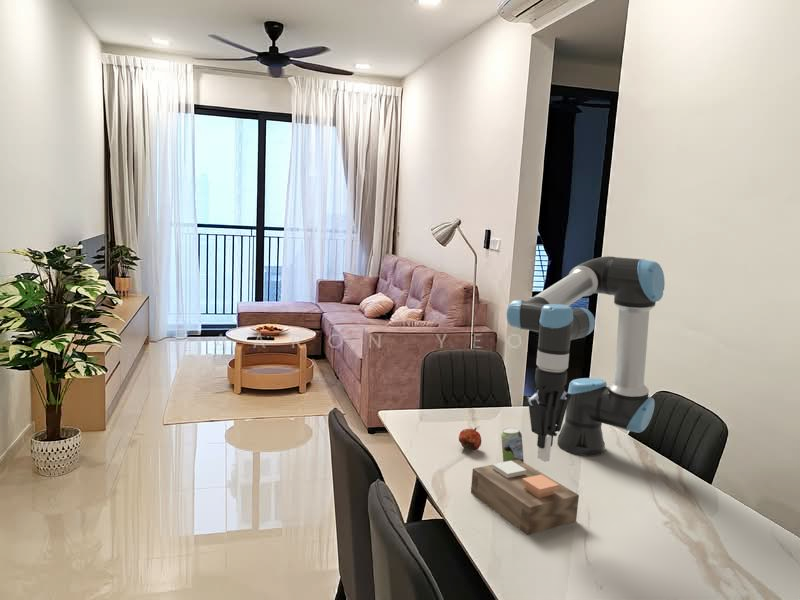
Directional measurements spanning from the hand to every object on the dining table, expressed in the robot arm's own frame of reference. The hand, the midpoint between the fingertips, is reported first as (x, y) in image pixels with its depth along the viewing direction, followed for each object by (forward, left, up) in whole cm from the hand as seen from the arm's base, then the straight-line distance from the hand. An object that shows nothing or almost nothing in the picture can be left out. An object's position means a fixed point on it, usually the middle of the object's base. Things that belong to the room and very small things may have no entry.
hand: (543, 459), depth 150 cm
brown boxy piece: (0, -6, -15) cm, 17 cm away
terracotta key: (0, 0, -14) cm, 14 cm away
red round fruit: (-9, -42, -16) cm, 46 cm away
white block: (0, -12, -15) cm, 19 cm away
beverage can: (-13, -26, -16) cm, 33 cm away
